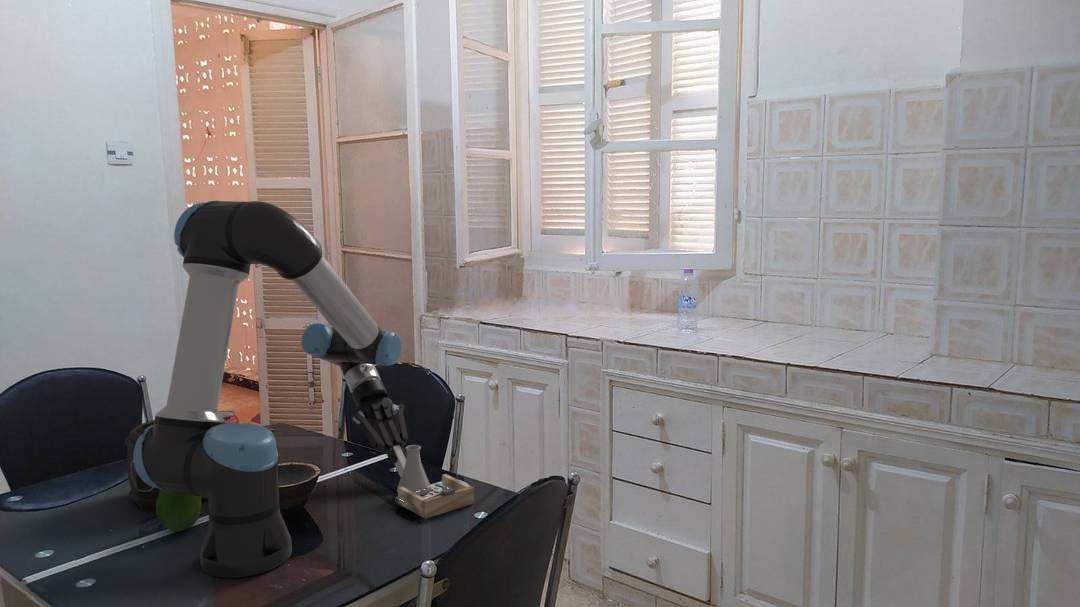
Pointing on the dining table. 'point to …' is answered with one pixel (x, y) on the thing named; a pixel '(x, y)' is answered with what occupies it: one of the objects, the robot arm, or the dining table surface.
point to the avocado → (177, 510)
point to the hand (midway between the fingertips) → (405, 473)
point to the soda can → (229, 416)
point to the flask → (414, 472)
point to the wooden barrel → (139, 490)
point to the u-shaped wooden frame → (438, 498)
